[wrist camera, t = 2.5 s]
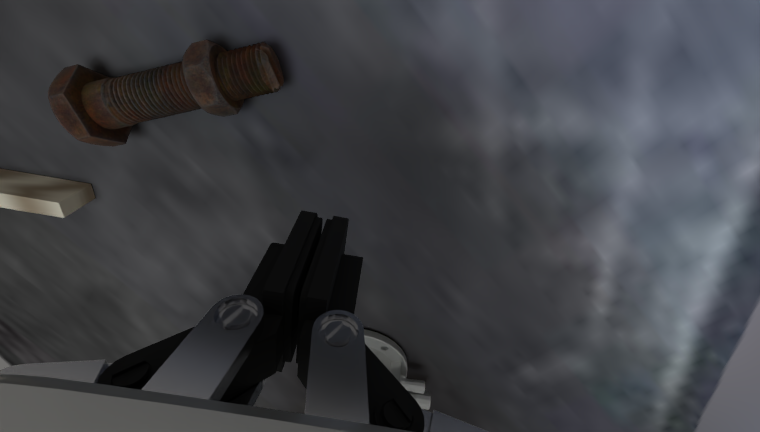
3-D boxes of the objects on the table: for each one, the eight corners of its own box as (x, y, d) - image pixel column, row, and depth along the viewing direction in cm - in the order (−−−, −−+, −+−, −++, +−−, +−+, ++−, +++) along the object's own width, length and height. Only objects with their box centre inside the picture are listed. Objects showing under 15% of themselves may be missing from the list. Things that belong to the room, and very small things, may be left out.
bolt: (293, 69, 27) (124, 107, 29) (262, 5, 23) (66, 55, 25) (289, 123, 25) (103, 162, 26) (253, 62, 20) (33, 114, 22)
